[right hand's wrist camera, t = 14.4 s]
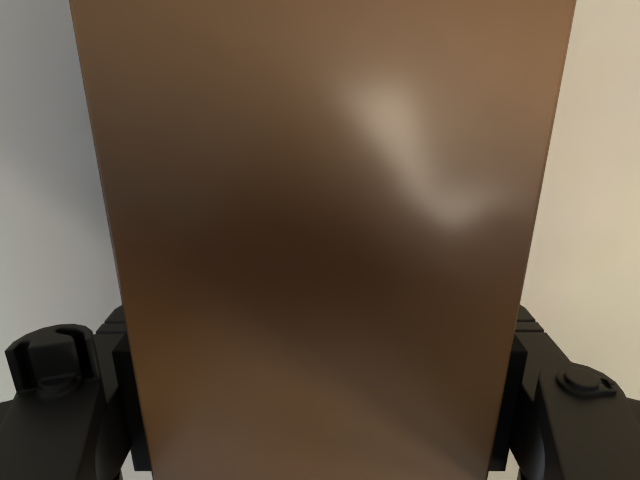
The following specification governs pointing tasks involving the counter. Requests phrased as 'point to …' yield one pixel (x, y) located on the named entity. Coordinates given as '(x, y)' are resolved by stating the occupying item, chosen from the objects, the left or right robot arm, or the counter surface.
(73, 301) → the counter surface
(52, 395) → the right robot arm
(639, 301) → the counter surface
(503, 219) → the post
